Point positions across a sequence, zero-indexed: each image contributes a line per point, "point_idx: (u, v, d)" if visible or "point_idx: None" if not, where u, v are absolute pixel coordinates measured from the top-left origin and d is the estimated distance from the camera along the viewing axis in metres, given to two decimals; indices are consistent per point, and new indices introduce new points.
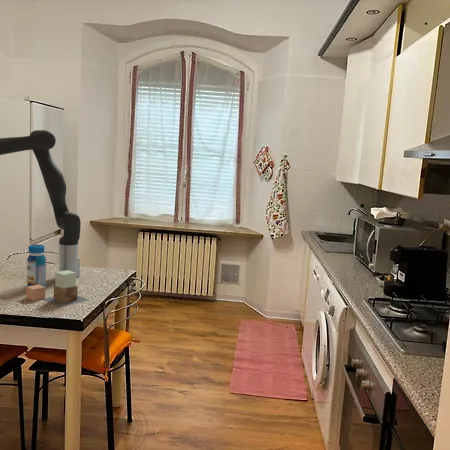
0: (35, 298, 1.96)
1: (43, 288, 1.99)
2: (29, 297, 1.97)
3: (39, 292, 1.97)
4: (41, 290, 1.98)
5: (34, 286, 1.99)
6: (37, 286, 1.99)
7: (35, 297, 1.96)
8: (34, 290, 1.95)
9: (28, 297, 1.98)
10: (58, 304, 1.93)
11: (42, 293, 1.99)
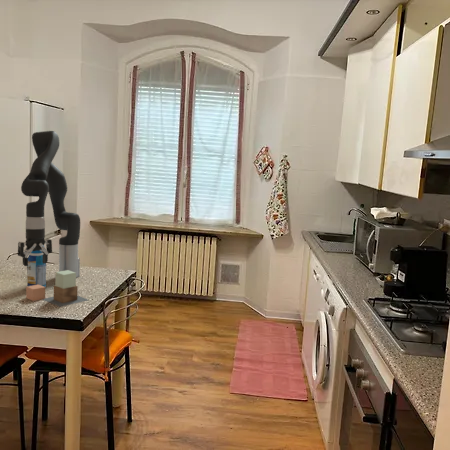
0: (35, 298, 1.96)
1: (43, 288, 1.99)
2: (29, 297, 1.97)
3: (39, 292, 1.97)
4: (41, 290, 1.98)
5: (34, 286, 1.99)
6: (37, 286, 1.99)
7: (35, 297, 1.96)
8: (34, 290, 1.95)
9: (28, 297, 1.98)
10: (58, 304, 1.93)
11: (42, 293, 1.99)
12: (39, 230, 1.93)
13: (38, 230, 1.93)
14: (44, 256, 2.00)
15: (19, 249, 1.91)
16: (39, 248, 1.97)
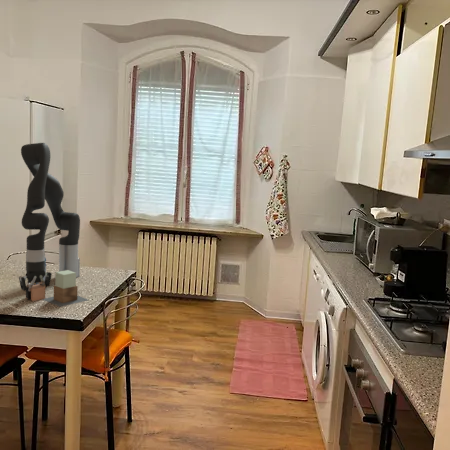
0: (35, 297, 1.96)
1: (43, 288, 1.99)
2: None
3: (39, 292, 1.97)
4: (41, 290, 1.98)
5: (34, 286, 1.99)
6: (37, 286, 1.99)
7: (35, 297, 1.96)
8: (34, 290, 1.95)
9: None
10: (58, 304, 1.93)
11: (42, 293, 1.99)
12: (39, 263, 1.95)
13: (38, 263, 1.94)
14: None
15: (21, 284, 1.93)
16: (38, 280, 1.98)
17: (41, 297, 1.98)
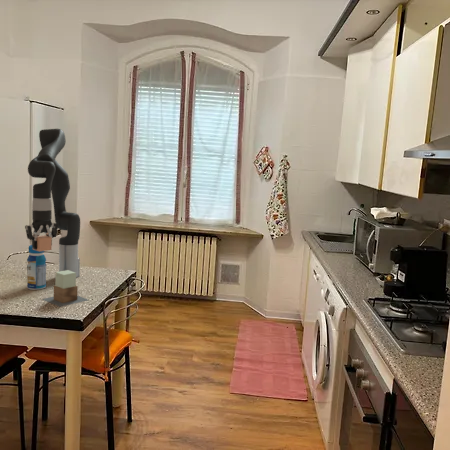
0: (42, 247, 1.93)
1: (49, 238, 1.96)
2: None
3: (45, 242, 1.94)
4: (47, 240, 1.95)
5: (40, 236, 1.96)
6: (43, 236, 1.96)
7: (41, 246, 1.93)
8: (40, 239, 1.92)
9: None
10: (58, 304, 1.93)
11: (48, 243, 1.96)
12: (46, 212, 1.92)
13: (45, 212, 1.91)
14: None
15: (27, 233, 1.91)
16: (45, 230, 1.95)
17: (47, 247, 1.95)
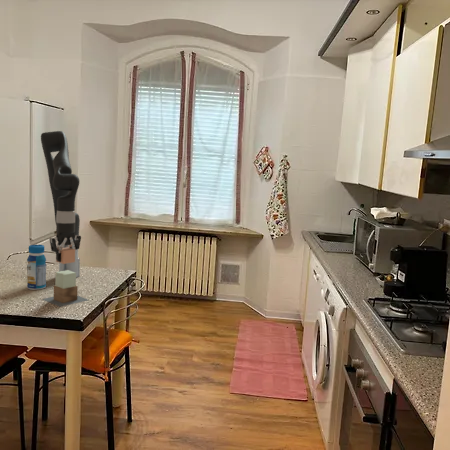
0: (66, 260, 1.94)
1: (73, 250, 1.96)
2: None
3: (69, 254, 1.95)
4: (71, 252, 1.96)
5: (64, 248, 1.97)
6: (67, 248, 1.97)
7: (65, 259, 1.94)
8: (64, 252, 1.93)
9: None
10: (58, 304, 1.93)
11: (72, 255, 1.96)
12: (70, 224, 1.93)
13: (69, 224, 1.92)
14: None
15: (52, 245, 1.91)
16: (68, 242, 1.96)
17: (71, 260, 1.96)
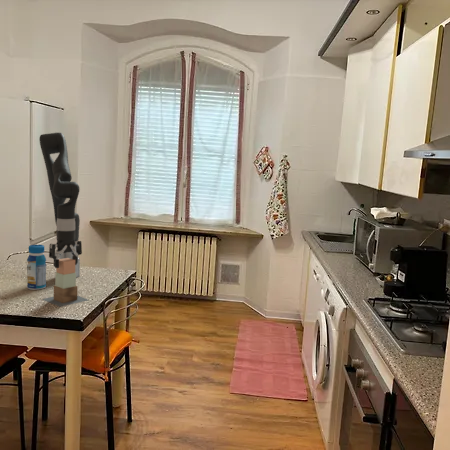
0: (66, 270, 1.95)
1: (73, 261, 1.97)
2: (59, 270, 1.96)
3: (69, 265, 1.96)
4: (71, 263, 1.96)
5: (64, 259, 1.98)
6: (67, 259, 1.98)
7: (65, 270, 1.95)
8: (65, 263, 1.94)
9: (58, 270, 1.96)
10: (58, 304, 1.93)
11: (72, 266, 1.97)
12: (70, 232, 1.93)
13: (69, 232, 1.93)
14: (74, 258, 2.00)
15: (50, 251, 1.91)
16: (69, 250, 1.97)
17: (71, 270, 1.97)
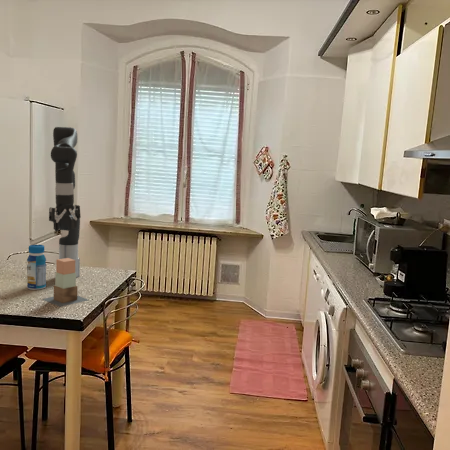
0: (66, 270, 1.95)
1: (73, 261, 1.97)
2: (59, 270, 1.96)
3: (69, 265, 1.96)
4: (71, 263, 1.96)
5: (64, 259, 1.98)
6: (67, 259, 1.98)
7: (65, 270, 1.95)
8: (65, 263, 1.94)
9: (58, 270, 1.96)
10: (58, 304, 1.93)
11: (72, 266, 1.97)
12: (69, 196, 1.99)
13: (68, 196, 1.99)
14: (73, 221, 2.07)
15: (50, 214, 1.97)
16: (69, 214, 2.03)
17: (71, 270, 1.97)
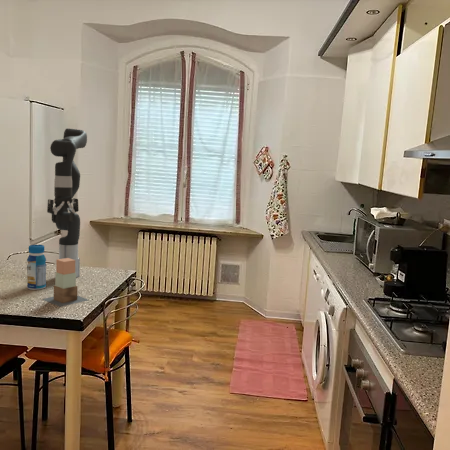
0: (66, 270, 1.95)
1: (73, 261, 1.97)
2: (59, 270, 1.96)
3: (69, 265, 1.96)
4: (71, 263, 1.96)
5: (64, 259, 1.98)
6: (67, 259, 1.98)
7: (65, 270, 1.95)
8: (65, 263, 1.94)
9: (58, 270, 1.96)
10: (58, 304, 1.93)
11: (72, 266, 1.97)
12: (67, 188, 2.04)
13: (66, 188, 2.04)
14: (71, 214, 2.11)
15: (49, 206, 2.02)
16: (67, 206, 2.08)
17: (71, 270, 1.97)
